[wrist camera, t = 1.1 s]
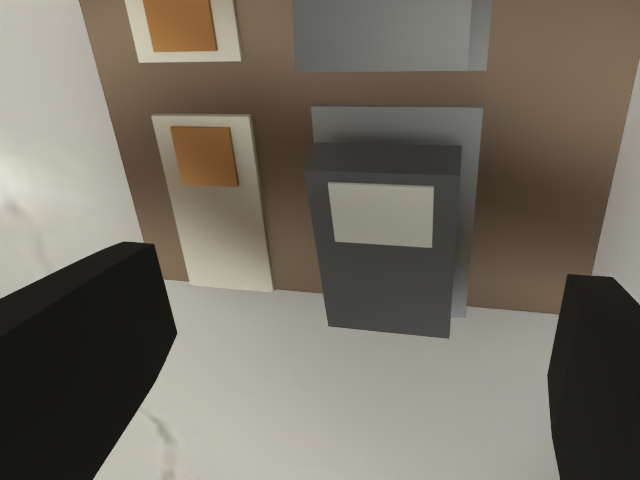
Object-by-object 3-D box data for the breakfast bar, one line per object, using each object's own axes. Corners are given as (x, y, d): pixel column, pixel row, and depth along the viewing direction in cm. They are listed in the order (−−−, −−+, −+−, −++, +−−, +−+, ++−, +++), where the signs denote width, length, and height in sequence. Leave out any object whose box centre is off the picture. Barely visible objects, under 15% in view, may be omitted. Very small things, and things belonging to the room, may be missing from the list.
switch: (451, 306, 16) (449, 340, 16) (336, 296, 17) (328, 328, 16) (461, 145, 13) (460, 177, 12) (315, 142, 14) (303, 172, 13)
